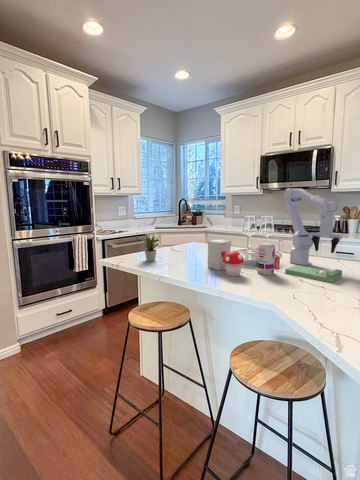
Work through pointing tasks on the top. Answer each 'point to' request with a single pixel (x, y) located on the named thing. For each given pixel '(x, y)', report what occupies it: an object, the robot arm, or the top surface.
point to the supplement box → (217, 253)
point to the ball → (322, 272)
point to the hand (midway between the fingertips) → (324, 251)
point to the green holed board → (314, 273)
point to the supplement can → (266, 258)
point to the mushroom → (233, 263)
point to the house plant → (150, 248)
